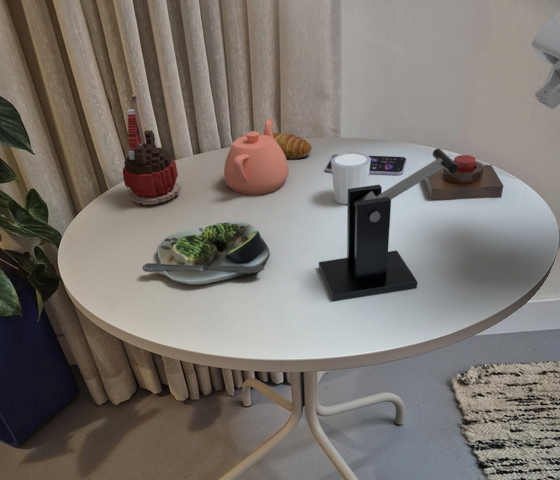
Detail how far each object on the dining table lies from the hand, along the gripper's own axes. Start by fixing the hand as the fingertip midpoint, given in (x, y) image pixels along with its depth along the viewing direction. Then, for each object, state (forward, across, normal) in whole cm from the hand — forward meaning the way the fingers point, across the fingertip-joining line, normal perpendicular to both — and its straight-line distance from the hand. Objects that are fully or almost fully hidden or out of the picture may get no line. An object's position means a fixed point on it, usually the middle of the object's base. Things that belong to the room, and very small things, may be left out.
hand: (542, 102), depth 71 cm
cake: (+52, -38, -22) cm, 68 cm away
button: (+11, -24, +14) cm, 30 cm away
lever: (+18, +1, -6) cm, 19 cm away
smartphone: (+23, -39, +7) cm, 46 cm away
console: (+14, -24, +17) cm, 32 cm away
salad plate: (+45, -11, -15) cm, 49 cm away
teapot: (+38, -38, -8) cm, 55 cm away
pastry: (+32, -51, -2) cm, 61 cm away
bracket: (+31, +1, 0) cm, 31 cm away
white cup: (+28, -26, +3) cm, 38 cm away
